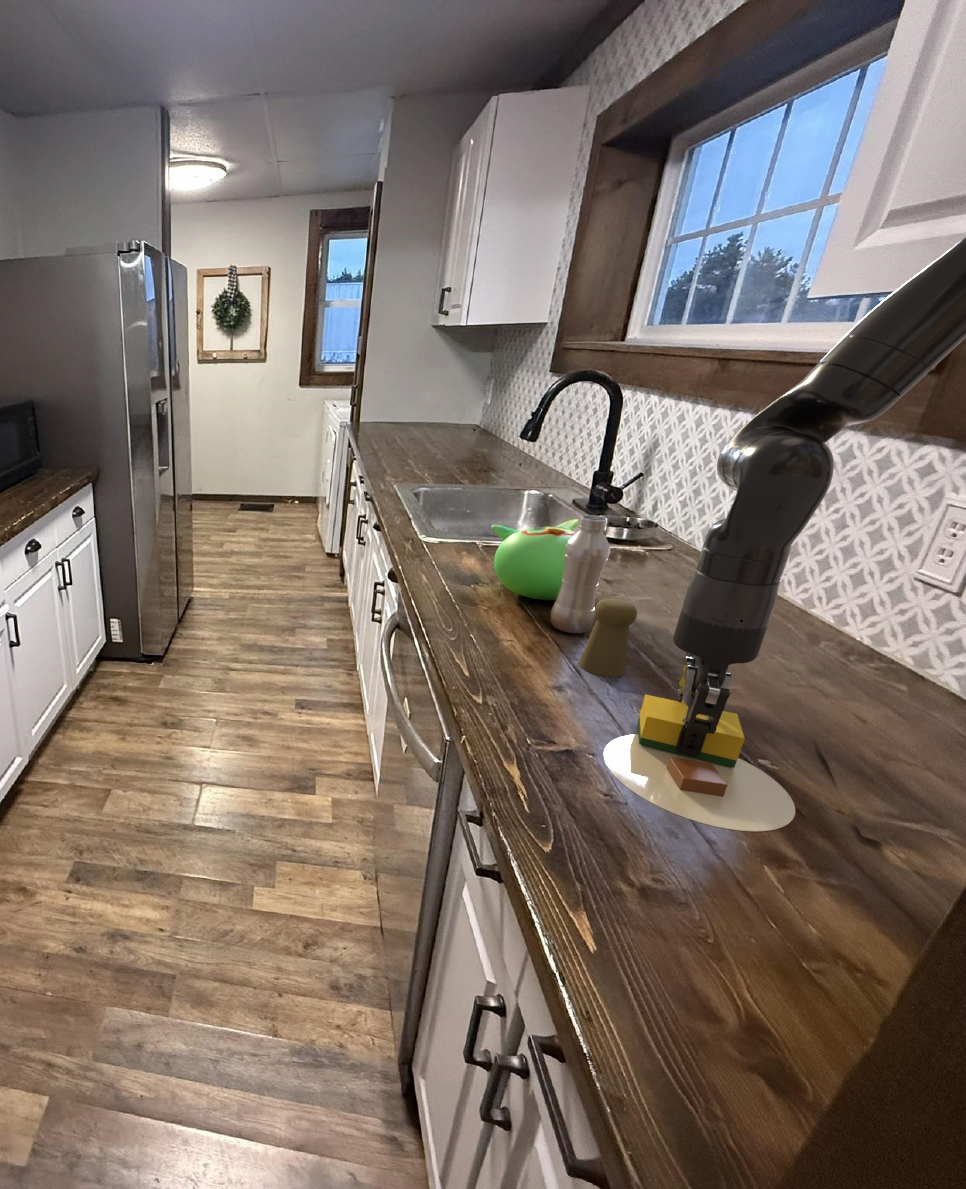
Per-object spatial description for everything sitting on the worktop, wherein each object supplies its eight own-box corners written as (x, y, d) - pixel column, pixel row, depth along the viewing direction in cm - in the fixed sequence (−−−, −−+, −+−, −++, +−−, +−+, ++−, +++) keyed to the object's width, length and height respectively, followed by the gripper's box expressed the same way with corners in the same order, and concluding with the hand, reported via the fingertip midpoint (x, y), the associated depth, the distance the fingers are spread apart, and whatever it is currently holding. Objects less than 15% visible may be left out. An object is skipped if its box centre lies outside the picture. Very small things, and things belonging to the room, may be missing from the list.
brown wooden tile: (707, 774, 72) (711, 762, 71) (723, 797, 68) (728, 784, 68) (666, 768, 73) (669, 756, 72) (679, 790, 69) (683, 778, 69)
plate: (799, 764, 74) (802, 757, 74) (853, 892, 57) (857, 883, 57) (581, 712, 86) (583, 705, 85) (572, 806, 69) (574, 799, 68)
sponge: (727, 741, 77) (737, 713, 75) (734, 768, 72) (745, 738, 71) (637, 721, 82) (645, 694, 80) (638, 744, 77) (646, 716, 75)
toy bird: (502, 610, 118) (515, 534, 113) (478, 579, 134) (489, 511, 128) (607, 614, 115) (627, 537, 110) (571, 582, 131) (586, 513, 125)
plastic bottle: (542, 630, 110) (565, 518, 102) (554, 618, 114) (577, 510, 107) (584, 641, 105) (612, 525, 98) (595, 628, 110) (622, 517, 102)
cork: (588, 675, 95) (605, 608, 91) (572, 657, 100) (586, 593, 96) (633, 678, 94) (651, 610, 90) (613, 659, 99) (630, 594, 95)
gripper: (782, 644, 63) (732, 782, 69) (758, 597, 74) (716, 719, 80) (687, 628, 67) (648, 760, 73) (678, 586, 78) (644, 704, 84)
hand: (684, 738), depth 77 cm, fingers closed on sponge, 6 cm apart
